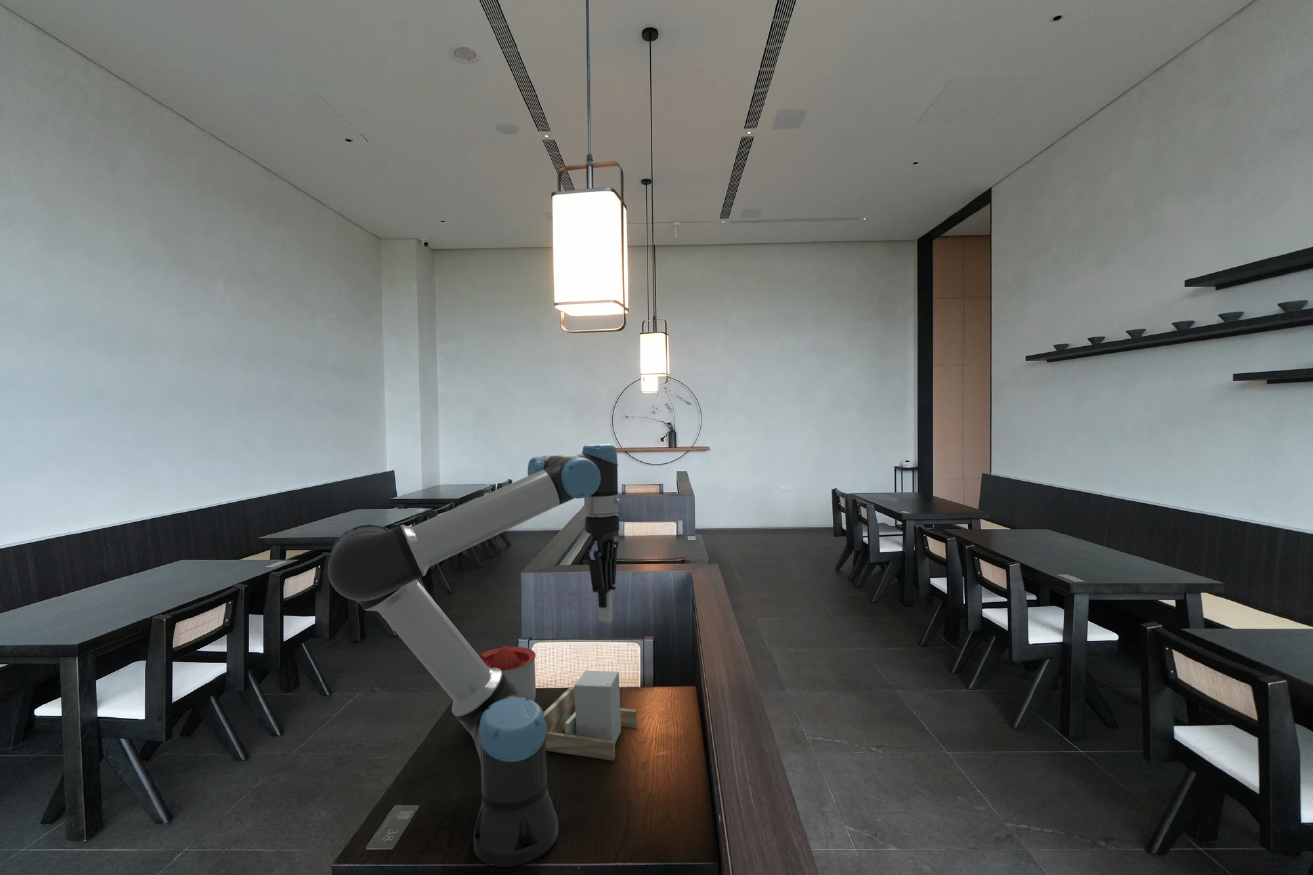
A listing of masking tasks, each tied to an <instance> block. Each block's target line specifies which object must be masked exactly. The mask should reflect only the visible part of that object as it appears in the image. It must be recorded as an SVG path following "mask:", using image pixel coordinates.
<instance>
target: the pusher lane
mask: <svg viewBox="0 0 1313 875" xmlns="http://www.w3.org/2000/svg"><path fill="white" fill-rule="evenodd" d="M637 711H638V710H637V709H631V708H630V709H629V708H625V707H624V708H622V707H620V716H621V727H625V728H635V729H637V727H638V712H637ZM575 712H576V711H575V690H574V686H569V687H568V689H567V690H565V691H564V692H563V693H562V694H561V695H560V696H559V697H558V698H557V699H556V700H555V701H554V702H553V703H552V704H550V706H548V708H547V709H546V710H544V711H543V714H544V720H545V724H546V734H545V735H546V736H545V738H546V752H553V753H554V752H555V753H561V754H567V755H572V756H579V757H581V756H582V757H588V758H593V759H600V760H607V761H615V759H616V746H615V745H616V743H615V741H613V740H605V739H598V738H591V737H584V736H577V735H570V734H565V733H563V732H565V722H566V721H567V720H568V719H569V718H570V717H571V716H572V715H573V714H574V713H575Z"/></svg>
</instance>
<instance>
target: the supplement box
mask: <svg viewBox="0 0 1313 875" xmlns="http://www.w3.org/2000/svg"><path fill="white" fill-rule="evenodd" d="M573 687H574V690H575V711H576V734H577V736H584V737H591V738H598V739H605V740H613V741H615V744H617V740H618V739H619V736H620V735H621V732H622V726H621V716H620V708H621V701H620V700H621V699H620V698H621V694H620V673H619V671H606V670H605V671H603V670H585V671H583V672H582V675H581V676H580V677H579V678H578V680H577V681H576V683H575V684H574V686H573Z"/></svg>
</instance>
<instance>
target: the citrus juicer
mask: <svg viewBox="0 0 1313 875" xmlns="http://www.w3.org/2000/svg"><path fill="white" fill-rule="evenodd" d="M536 656H537V655H536V652H535V651H534V650H532V649H531V648H528V647H522V646H507V645H502V647H498V648H494V649H490V650H487V651H485V652H483V653H481V654H480V658H481V659H482V660H483V662H484V663H485V664H486V665H487V667H488V668H499V669H500V670H501V671H502V672H503V673H504V675H505V676H506V677H507V678H508V680H509V681H510V682H512V683H513V684H515V685H516V686H517V687H518V689H519V690H520V691H521V693H522V695H523V698H525V699H526V700H527V701H528V700H532V701H534V702H535V703H536V693H537V692H536V691H537V690H536V687H537V686H536V661H535V659H536Z"/></svg>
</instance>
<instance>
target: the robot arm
mask: <svg viewBox="0 0 1313 875" xmlns="http://www.w3.org/2000/svg"><path fill="white" fill-rule="evenodd" d="M618 462H619V461H618V454H617V448H616V447H615V446H614V444H612V443H611V444H608V443H607V444H606V443H605V444H604V443H603V444H585V445H583V447H582V452H581V453H579V454H567V455H566V454H565V455H564V454H562V455H558V454H557V455H543V456H533V457H531V458H530V460H529V461H528V463H527V465H528V466H527V476H525V477H523V478H520V479H519V480H516V481H514V482H511V483H509V484H507V485H505V486H502V487H500V488H498V489H496V490H493V491H490V492H489V493H486V494H484V495H482V496H480V497H477V498H475V499H473V500H471V501H467V502H466V503H464V504H462V505H460V506H459V505H458V506H457V507H455V508H453V509H450V510H447V511H445V512H443V513H441V514H438V515H436V516H434V517H432V518H429V519H427V520H425V521H422V522H420V523H418V524H416V525H414V526H408V525H405V524H401V525H399V526H396V527H394V528H391V529H389V528H388V527H385V526H383V525H380V524H374V523H365V524H359V525H356V526H354V527H352V528H350V529H348V530H347V531H345V532H344V533H343V534H341V536H339V537H338V538H337V539H336V541H335V542H334V544H333V547H332V549H331V553H330V558H329V560H328V565H327V577H328V580H329V582H330V584H331V586H332V587H333V588H334V591H336V592H337V593H338V594H339V595H341V596H342V597H344V598H346V599H349V600H351V601H356V602H357V603H358V604H359V605H360V606H361V608H362V609H363V610H364V611H365V612H366V611H369V612H378V613H379V614H380V615H381V617H382V618H383V619H384V620H385V622H386V623H387V624H388V626H389V627H391V629H392V630H393V631H394V632H395V634H397V636H398V637H399V639H401V641H403V643H404V644H405V645H406V646H407V647H408V649H409V650H410V651H411V652H412V653H413V655H414V656H415V657H416V658H417V659H418V661H419V662H420V663H421V664H422V665H423V666H424V667H425V669H426V670H427V671H428V673H430V674H431V676H432V677H433V678H434V679H435V680H436V681H437V683H438V684H439V686H441V688H442V689H443V691H445V692H446V693H447V695H448V697H450V698H451V700H452V706H451V712H452V714H453V715H454V717H455V718H456V719H457V720H458V721H459V722H460V724H461V725H462V727H464V728H465V730H466V731H467V732H468V733H469V734H470V736H471V738H472V740H473V743H474V744H475V748H476V751H477V754H478V756H479V760H480V777H481V800H482V801H481V804H480V808H479V812H478V816H477V819H476V821H475V826H474V828H473V836H472V838H473V841H472V842H473V851H474V854H475V856H476V858H478V860H480V861H481V862H483V863H484V862H485V863H484V864H486V863H488V864H492V865H493V866H492V865H491V866H492V867H498V868H511V867H512V868H513V867H518V866H521V865H520V864H522V865H525V864H527V863H531V862H533V861H535V860H536V859H539V858H540V857H542V856H543V855H544V854H546V853H547V852H548V851H549V850H550V849H551V848H552V847H553V846H554V844H555V842H556V841H557V839H558V838H557V837H558V835H559V834H558V833H559V822H558V815H557V812H556V810H555V808H554V804H553V801H552V799H551V797H550V796H551V795H550V792H549V791H548V783H547V782H548V780H547V779H548V776H547V775H548V774H547V751H546V738H545V736H546V735H545V734H546V724H545V720H544V714H543V713H544V711H543V709H542V708H541V706H540V705H539V704H538V703H537V702H536V701H535V702H534V701H532V700H528V701H527V700H526V699H525V698H523V695H522V693H521V691H520V690H519V689H518V687H517V686H516V685H515V684H513V683H512V682H510V681H509V680H508V678H507V677H506V676H505V675H504V673H503V672H502V671H501V670H500V669H499V668H488V667H487V665H486V664H485V663H484V662H483V660H482V659H481V656H480V655H479V654H478V653H477V652H476V650H475V649H474V648H473V647H472V645H471V644H470V643H469V642H468V641H467V640H466V638H465V637H464V636H463V635H462V633H461V632H460V631H459V630H458V628H457V627H456V625H455V624H454V623H453V622H452V621H451V619H449V617H448V615H447V614H445V612H444V611H443V609H441V607H440V606H439V605H438V604H437V603H436V601H435V600H434V598H432V596H431V594H429V592H428V591H427V590H426V589H425V588H424V586H423V585H422V584H421V583H420V581H419V580H418V579H421V578H423V577H424V576H426V574H427V572H428V570H429V568H430V567H432V566H434V565H436V564H438V563H441V562H443V561H445V560H446V559H449V558H451V557H453V556H455V555H457V554H459V553H461V552H464V551H466V550H468V549H469V548H472V547H474V546H477V545H478V544H481V543H483V542H485V541H487V540H489V539H491V538H494V537H495V536H498V535H499V534H501V533H503V532H506V531H508V530H510V529H512V528H515V527H517V526H518V525H520V524H522V523H524V522H527V521H529V520H531V519H533V518H536V517H537V516H540V515H541V514H544V513H546V512H548V511H550V510H552V509H554V508H557V507H559V506H561V505H563V504H566V503H568V502H570V501H572V500H573V499H583V500H584V501H583V502H584V504H583V505H584V508H583V510H584V513H585V514H586V515H585V516H584V527H585V530H584V531H585V533H587V534H590V535H591V542H590V544H591V546H590V547H591V548H590V549H591V550H586V552H585V554H586V558H587V561H588V565H589V573H590V580H591V588H592V592H593V593H597V616H598V617H597V618H598V620H597V621H598V622H607V623H611V621H613V603H612V602H613V601H612V600H613V599H612V598H613V597H612V596H613V595H612V591H615V590H616V588H617V586H615V585H616V580H617V579H616V577H617V560H618V559H617V556H618V548H619V540H615V539H614V538H615V537H614V536H615V535H614V534H616V533H617V532H619V531H620V516H619V514H617V513H618V512H619V511H620V509H619V504H620V503H621V499H619V484H618V483H619V482H618V480H619V477H618V476H619V475H618V473H619V472H618V467H619V463H618ZM488 864H487V865H488ZM517 865H518V866H517Z"/></svg>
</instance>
